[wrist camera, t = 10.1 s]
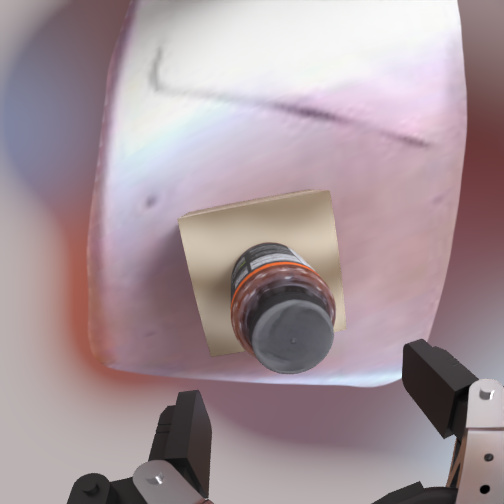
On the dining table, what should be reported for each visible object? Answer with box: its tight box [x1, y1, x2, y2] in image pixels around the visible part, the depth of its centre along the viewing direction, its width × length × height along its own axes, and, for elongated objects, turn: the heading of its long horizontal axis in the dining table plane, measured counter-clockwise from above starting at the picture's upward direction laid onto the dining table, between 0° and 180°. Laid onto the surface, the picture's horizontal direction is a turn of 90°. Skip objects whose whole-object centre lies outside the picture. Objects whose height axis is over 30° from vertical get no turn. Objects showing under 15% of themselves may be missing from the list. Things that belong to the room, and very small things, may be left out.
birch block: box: [178, 190, 346, 357], centre depth 29 cm, size 12×12×7 cm
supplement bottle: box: [230, 242, 336, 374], centre depth 20 cm, size 6×6×11 cm
